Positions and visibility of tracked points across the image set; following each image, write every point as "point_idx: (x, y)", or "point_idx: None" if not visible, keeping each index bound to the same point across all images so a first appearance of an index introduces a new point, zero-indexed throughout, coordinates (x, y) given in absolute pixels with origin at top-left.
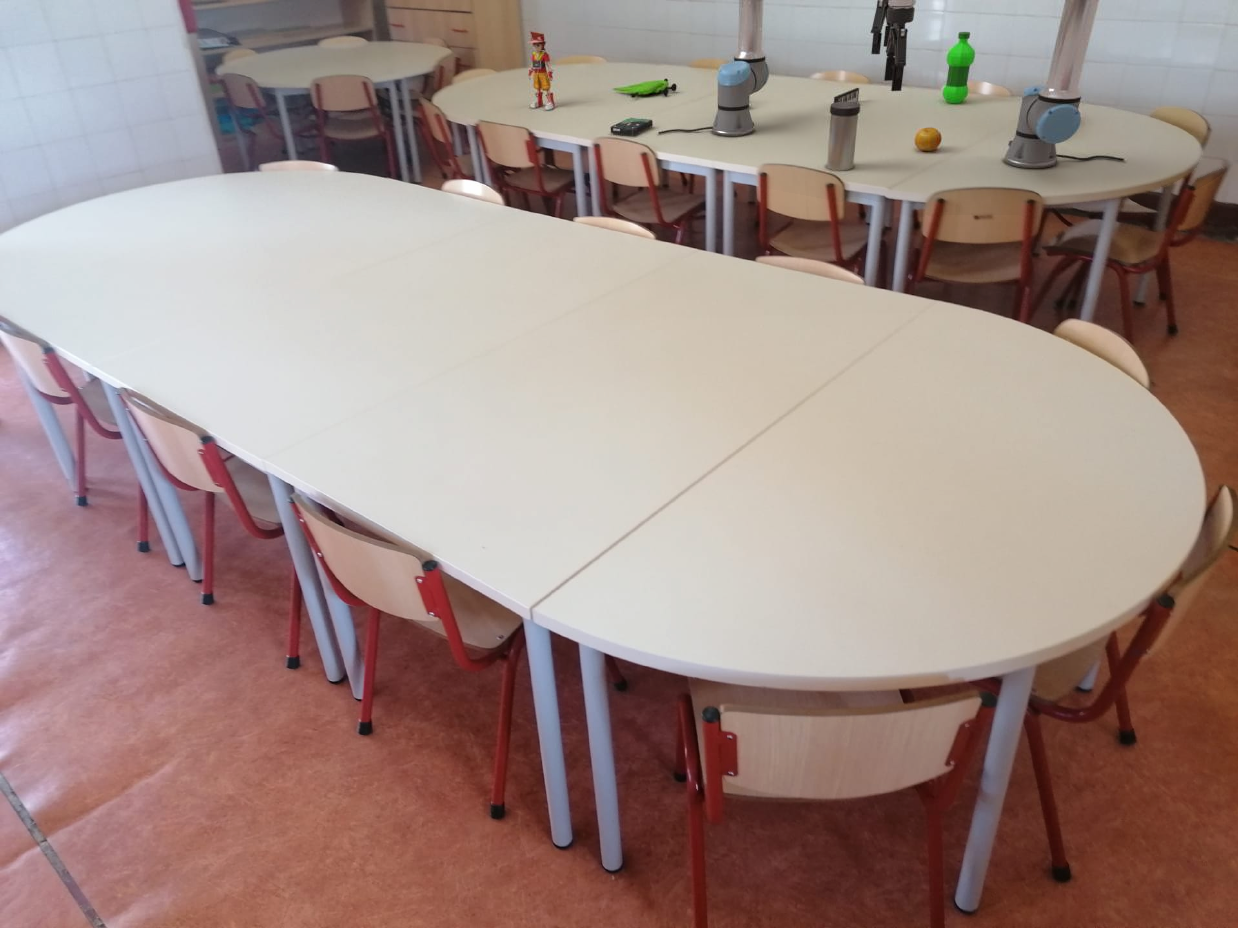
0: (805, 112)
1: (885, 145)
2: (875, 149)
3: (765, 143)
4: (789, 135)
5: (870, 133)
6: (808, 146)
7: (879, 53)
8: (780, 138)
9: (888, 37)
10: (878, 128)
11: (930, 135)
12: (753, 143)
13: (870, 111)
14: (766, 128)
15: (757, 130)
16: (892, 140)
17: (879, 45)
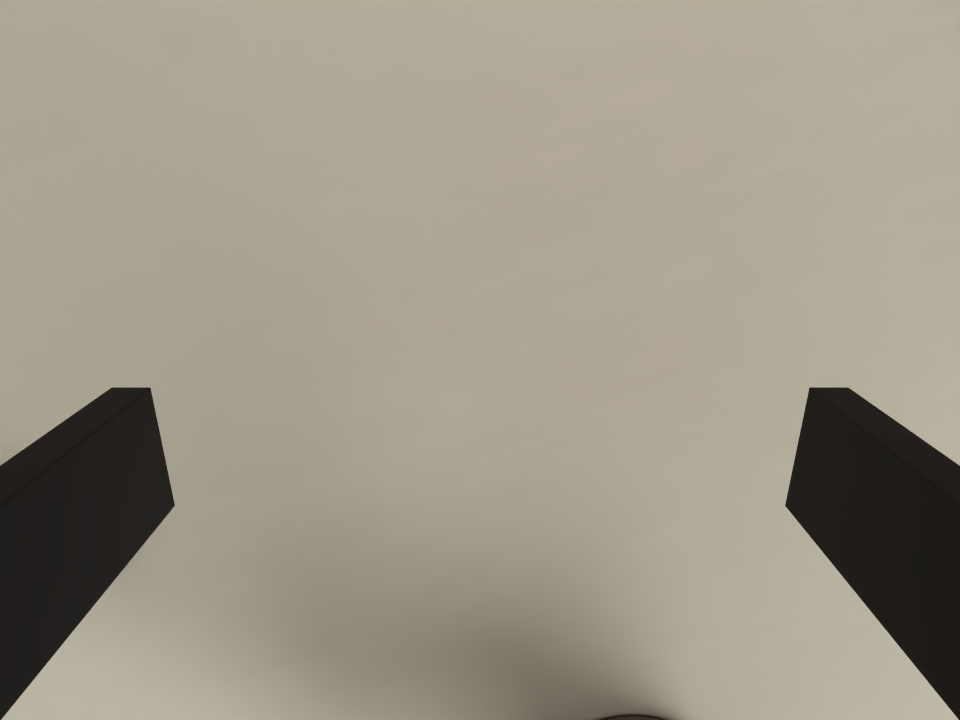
0: (215, 645)
1: (688, 86)
2: (783, 118)
3: (772, 623)
4: (621, 582)
5: (466, 248)
6: (786, 454)
7: (838, 394)
8: (679, 598)
9: (67, 538)
10: (349, 238)
11: None
12: (781, 661)
13: (31, 387)
14: (538, 692)
15: (580, 710)
16: (572, 78)
17: (949, 473)
